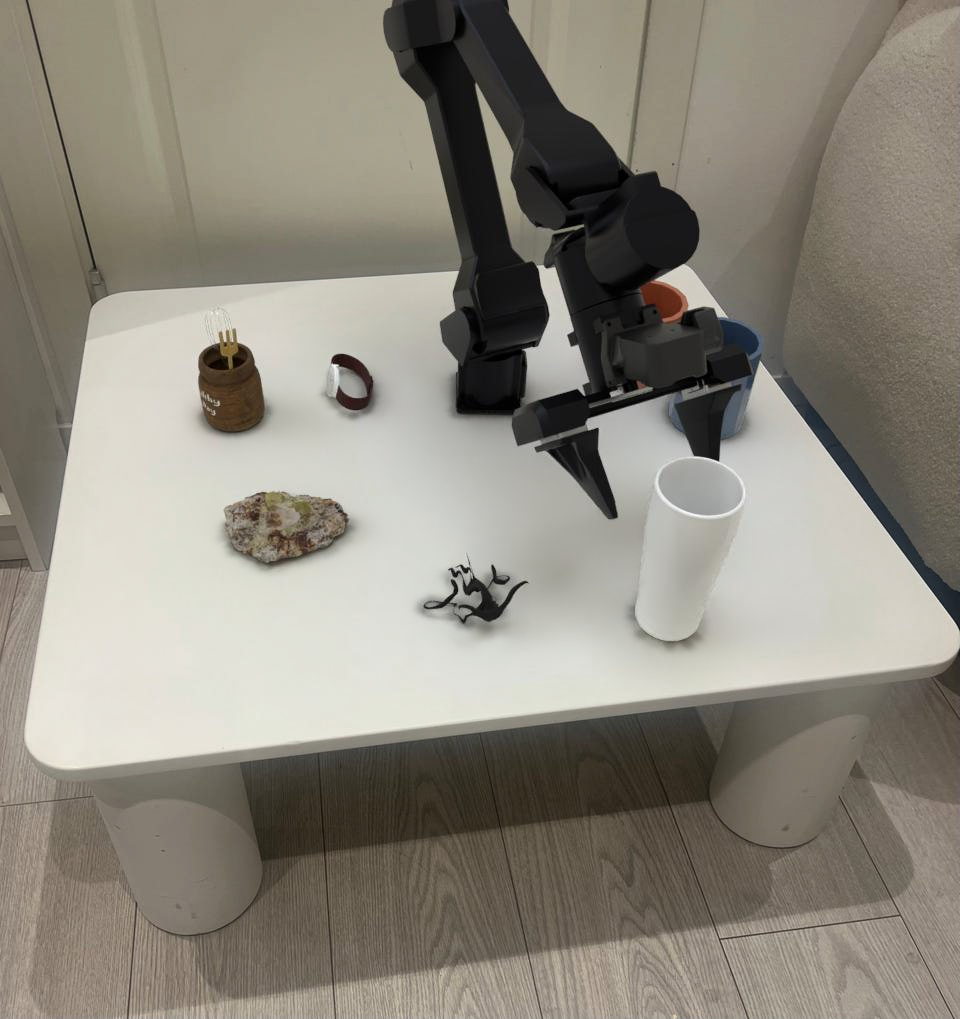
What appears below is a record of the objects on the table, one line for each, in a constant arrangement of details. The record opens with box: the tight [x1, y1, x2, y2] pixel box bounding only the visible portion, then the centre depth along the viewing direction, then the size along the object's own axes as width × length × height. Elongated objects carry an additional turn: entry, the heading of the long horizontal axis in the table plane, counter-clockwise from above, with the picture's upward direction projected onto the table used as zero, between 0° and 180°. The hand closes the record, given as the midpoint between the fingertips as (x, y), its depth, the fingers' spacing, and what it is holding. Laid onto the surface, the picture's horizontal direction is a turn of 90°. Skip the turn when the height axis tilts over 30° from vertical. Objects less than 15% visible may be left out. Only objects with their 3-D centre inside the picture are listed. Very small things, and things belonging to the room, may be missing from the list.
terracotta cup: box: [619, 279, 690, 389], centre depth 105 cm, size 8×8×8 cm
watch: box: [325, 353, 375, 412], centre depth 102 cm, size 8×5×4 cm, turn 16°
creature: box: [423, 552, 530, 624], centre depth 82 cm, size 8×5×8 cm
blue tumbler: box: [668, 316, 765, 440], centre depth 99 cm, size 7×7×10 cm
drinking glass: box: [634, 455, 747, 642], centre depth 78 cm, size 7×7×15 cm
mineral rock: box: [223, 490, 350, 564], centre depth 88 cm, size 11×4×8 cm
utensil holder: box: [197, 307, 265, 432], centre depth 96 cm, size 6×6×12 cm
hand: (664, 501), depth 78 cm, fingers open, 9 cm apart
